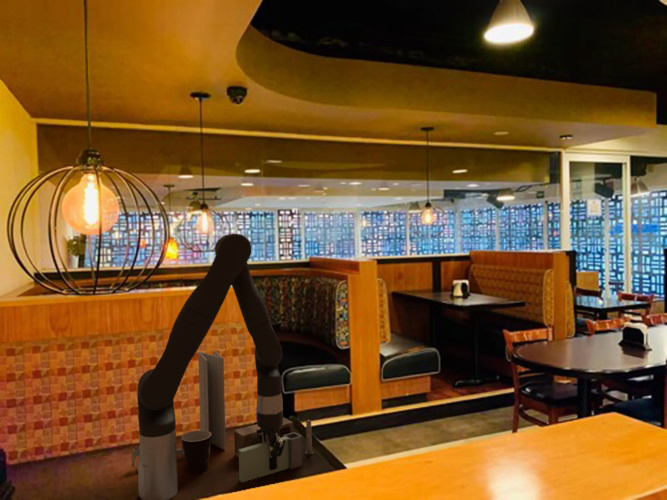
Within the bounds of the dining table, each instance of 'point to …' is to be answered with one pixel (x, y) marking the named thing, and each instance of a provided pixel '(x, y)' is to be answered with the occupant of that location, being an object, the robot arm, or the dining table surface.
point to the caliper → (137, 453)
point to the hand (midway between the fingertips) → (271, 467)
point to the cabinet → (250, 437)
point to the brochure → (212, 397)
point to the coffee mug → (196, 451)
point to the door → (257, 458)
